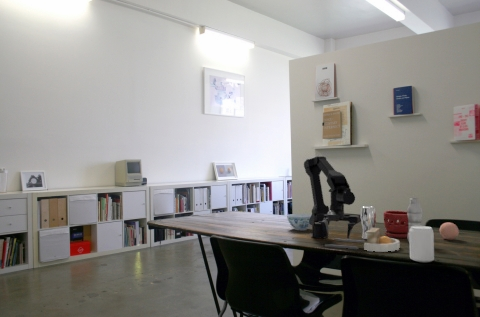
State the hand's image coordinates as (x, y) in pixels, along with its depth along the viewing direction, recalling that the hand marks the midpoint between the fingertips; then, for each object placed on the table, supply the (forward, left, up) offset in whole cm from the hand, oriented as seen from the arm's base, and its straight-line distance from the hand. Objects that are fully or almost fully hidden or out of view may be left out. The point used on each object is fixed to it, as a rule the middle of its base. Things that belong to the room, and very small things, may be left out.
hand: (337, 237), depth 177 cm
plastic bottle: (+31, +15, -3) cm, 34 cm away
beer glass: (+10, +20, -3) cm, 22 cm away
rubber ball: (+20, 0, 0) cm, 20 cm away
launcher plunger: (+16, 0, -3) cm, 16 cm away
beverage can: (+36, -17, -3) cm, 40 cm away
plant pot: (+22, +31, -3) cm, 38 cm away
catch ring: (+20, 0, -3) cm, 20 cm away
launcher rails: (+4, 0, -3) cm, 4 cm away
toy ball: (+44, +32, -3) cm, 54 cm away
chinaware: (-29, +33, -3) cm, 44 cm away
